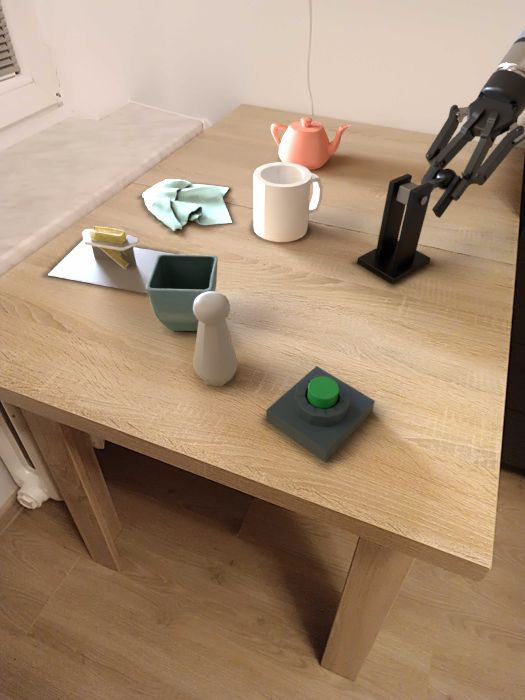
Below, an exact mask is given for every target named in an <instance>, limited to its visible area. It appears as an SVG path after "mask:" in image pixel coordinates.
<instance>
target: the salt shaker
mask: <svg viewBox="0 0 525 700" xmlns="http://www.w3.org/2000/svg"><path fill="white" fill-rule="evenodd" d="M230 310H231V306H230V301H229V299H228V297H227V296H226V295H225V294H223V293H221V292H219V291H216V290H215V291H209V292H205V293H202V294H200V295H199V296H198V297H197V298H196V299H195V301H194V304H193V311H194V314H195V316H196V318H197V319H198V320H199V322H198V330H197V331H196V339H195V347H194V353H193V360H192V361H193V362H192V367H193V368H194V371H195V373H196V375H197V376H198V377H200V378H201V379H202V381H204V383H205V384H206V385H207V386H212V387H213V386H214V387H223V386H224V385H225V384H227V383H228V382H230V381H231V380H232V379H233V378H234V375H235V373H236V371H237V368H238V363H239V360H238V357H237V354H236V350H235V346H234V344H233V340H232V337H231V334H230V330H229V327H228V322H227V320H226V319H227V318H228V317H229V315H230Z"/></svg>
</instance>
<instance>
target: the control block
mask: <svg viewBox="0 0 525 700" xmlns="http://www.w3.org/2000/svg"><path fill="white" fill-rule="evenodd" d="M316 377H328V378H331V379H333V380H334V381H335V382H336V383H337V384H338V386H339V393H338V399H337V402H336V404H335V405H334V406H332V407H330V408H325V409H322V408H317V407H315V406H313V405H312V404H311V403H310V402H309V400H308V397H307V394H308V385H309V383H310V381H311V380H313V379H314V378H316ZM375 401H376V400H375V399H373V398H371V397H369V396H367V395H366V394H364V393H363V392H361V391H359V390H358V389H356V388H354V387H353V386H351V385H349V384H347V383H346V382H345V381H342V380H341V379H339V378H338V377H336V376H334V375H333V374H331V373H329V372H328V371H326V370H324V369H323V368H321V367H320V366H318V365H316V366H314V367H313V368H312V369H311V370H310V371H309V372H308V373H307V374H305V375H304V376H303V377H302V378H301V379H300V380H299V381H297V382H296V383H295V384H294V385H293V386H292V387H290V389H288V390H287V391H286V392H285V393H284V394H283V395H282V396H280V397H279V398H278V399H277V400H276V401H275V402H273V403H272V404H271V405H270V406H269V407H268V408H267V409H266V412H265V413H266V414H265V415H266V416H265V417H266V418H265V419H266V420H265V421H266V422H267V423H269V424H270V425H271V426H273V427H274V428H275V429H277V430H278V431H280V432H281V433H283V434H284V435H286V436H287V437H289V438H290V439H291V440H293V441H294V442H296V443H297V444H298V445H300V446H301V447H302V448H303V449H306V450H307V451H308V452H309V453H311V454H313V456H315V457H316V458H318V459H319V460H321V461H322V462H324V463H326V462H327V461H328V460H329V459H330V458H331V456H332V455H334V453H335V452H336V451H337V450H338V449H339V448H340V447H341V446H342V445H343V444H344V443H345V442H346V440H348V439H349V438H350V436H352V435H353V433H354V432H355V431H356V430H357V429H358V428H359V427H360V425H362V423H364V421H365V420H366V419H367V418H368V417H369V416H370V415H371V414H372V413H373V409H374V406H375Z"/></svg>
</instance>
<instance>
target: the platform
mask: <svg viewBox="0 0 525 700" xmlns="http://www.w3.org/2000/svg"><path fill="white" fill-rule="evenodd" d="M92 227H93V229H92V228H85V229H84V230H83V231H82V232H81V236H82V240H81V241H80V242H79V243H78V244H77V245H76V246H75V247H74V248H73V249H72V250H71V251H70V252H69V253H68V254H67V255H65V256H64V258H63V259H61V261H60V262H59V263H58V264H57V265H56V266H55V267H54V268H53V269H52V270H51V271H50V272H49V273H48V274H47V276H50V277H56V278H61V279H66V280H71V281H77V282H83V283H88V284H93V285H97V286H98V285H99V286H102V287H103V286H104V287H109V288H114V289H115V288H116V289H120V290H124V291H125V290H126V291H132V292H136V293H142V294H148V293H147V290H146V286H147V283H148V281H149V278H150V275H151V272H152V270H153V267H154V264H155V261H156V258H157V256H158V255H159V254H174V255H176V253H171V252H164V251H159V250H153V249H148V248H141V247H136V246H137V245H138V243H139V242H140V237H139V236H135V235H130V234H129V235H128V234H126V230H123V229H118V228H112V227H106V226H99V225H93V226H92Z"/></svg>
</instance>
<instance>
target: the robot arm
mask: <svg viewBox="0 0 525 700" xmlns="http://www.w3.org/2000/svg"><path fill="white" fill-rule="evenodd" d="M497 65H498V66H496V67H495V71H494V72H492V74H491V75H490V77H489V78H488V79H487V81H486V82H485V84H484V85H483V87H482V88H481V89H480V92H479V93H478V96H477V97H476V98H475V100H474V101H472V102H471V103H469V105H468V106H464V107H463V106H462V107H459V106H458V105H457V104H453V105H452V106H450V109H449V113H448V116H447V118H446V121H444V124H443V125H442V127H441V128H440V130H439V132H438V134H437V135H436V137H435V139H434V140H433V141H432V143H431V145H430V147H429V148H428V150H427V152H426V153H425V156H424V157H425V159H426V161H427V162H428V165H429V167H428V169H427V171H426V172H425V173H424V174H423V176H422V177H421V179H420V184H423V183H425V182H428V181H431V180H434V179H436V176H437V174H438V173H439V172H440V171H441V170H443V169H446V167H447V166H448V164H449V163H451V162H452V160H453V159H455V157H456V156H457V155H458V154H459V153H460V152H461V151H462V149H464V147H465V146H466V145H467V144H468V143H470V142H472V141H473V140H474V139H475V138H476V137H477V138H478V137H479V140H478V142H477V144H476V146H475V148H474V150H473V152H472V154H471V156H470V157H469V160H468V162H467V163H466V166H465V167H464V170H463V171H461V172H460V174H461V176H460V175H458V174H457V175H456V176H455V178H454V179H453V180H452V182H451V183H450V185H449V186H448V187H447V189H446V190H444V192H443V193H442V194H441V196H440V198H438V200H437V202H436V203H435V204H434V206H433V207H432V213H433V214H434V215H435V217H436V218H439V219H440V218H441V217H442V216H443V214H444V213H445V212H446V211H447V209H448V207H449V206H450V204H452V202H453V201H455V202H457V201H459V200H460V199H461V198H462V196H463V195H464V193H465V192H466V190H467V189H468V188H469V186H471V185H477V186H484V184H485V183H486V182H487V180H489V179H490V177H491V176H492V175H493V174H494V172H495V171H496V170H497V168H498V167H499V166H500V165H501V164H502V162H503V161H504V159H505V158H506V157H507V156H508V155H509V154H510V152H511V151H512V150H513V149H514V148H515V147H517V145H519V144H521V143H522V142H523V141H524V140H525V128H524V126H523V125H519V124H518V120H519V117H520V116H521V115H522V114H523V113H524V111H525V27H524V28H523V29H522V31H521V32H520V33H519V35H518V36H517V38H516V39H515V41H514V43H513V44H512V45H511V47H510V48H509V49H508V50H507V52H506V53H505V55H504V56H503V58H502V59H501V60H500V62H499V63H498V64H497ZM465 118H466V121H465V122H464V123H463V121H464V119H465ZM462 123H463V124H462ZM460 124H462V125H461V127H460V130H459V131H458V132H457V129H458V128H459V125H460ZM455 132H457V133H456V134H455ZM506 132H507V133H506ZM505 133H506V134H505ZM503 134H505V136H504V137H503V138H502V139H501V141H500V142H498V144H497V145H496V146H495V148H494V149H493V151H492V152H491V153H490V154H489V155H488V152H489V151H490V149H491V148H492V147H493V146H494V144H495V141H496V139H497V138H498V137H499V136H501V135H503ZM487 155H488V156H487ZM486 157H487V158H486ZM433 191H434V189H432V191H431V193H432V192H433Z"/></svg>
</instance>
